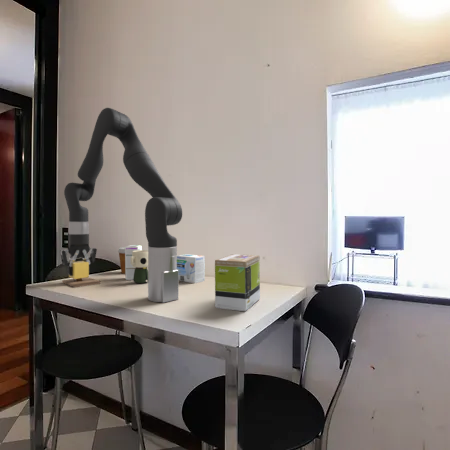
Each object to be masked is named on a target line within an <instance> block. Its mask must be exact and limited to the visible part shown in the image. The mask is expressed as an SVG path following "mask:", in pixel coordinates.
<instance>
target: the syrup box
mask: <svg viewBox="0 0 450 450" xmlns="http://www.w3.org/2000/svg"><path fill="white" fill-rule="evenodd" d="M124 247H125V274H124V275H125V281H133V279H134V271H135V268H136V267H133V266H132V265H131V257H132V251H136V250H143V246H142V245H141V244H140V245H139V244H132V245H127V246H124Z"/></svg>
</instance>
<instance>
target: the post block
mask: <svg viewBox="0 0 450 450" xmlns="http://www.w3.org/2000/svg"><path fill="white" fill-rule="evenodd" d="M62 282H63V283H62V284H64V283H66V284H65V285H67V284H68V285H67V286H69V285H70V287H72V286H73V287H72V288H74V287H75V288H80V286H81V287H86V286H93V285H94V286H95V285H99V284H101V281H100V280H98V279H94V278H91V277H90V276H89V277H85V278H78V279H73V278H71V279H63V280H62Z"/></svg>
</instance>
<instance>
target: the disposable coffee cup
mask: <svg viewBox="0 0 450 450" xmlns="http://www.w3.org/2000/svg"><path fill="white" fill-rule="evenodd" d="M125 247H126V246H124V247H123V246H122V247H119V248H118V250H117V252H118V257H119V264H120V271H121V274H122V275H125Z"/></svg>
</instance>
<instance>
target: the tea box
mask: <svg viewBox="0 0 450 450" xmlns="http://www.w3.org/2000/svg"><path fill="white" fill-rule="evenodd" d="M260 263H261V262H260V255H255V254H236V253H235V254H230V255H226V256H223V257H220V258H217V259H214V305H215V308H216V309H221V310H222V309H223V310H230V311H232V310H233V311H237V312H239V311H240V312H247V311H248V309H250V308H251V307H252V306H254V305H255V303H257V302H258V301H259V300H260V299H261V287H260V286H261V282H260V281H261V277H260V276H261V275H260V273H261V272H260V266H261V265H260Z"/></svg>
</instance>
